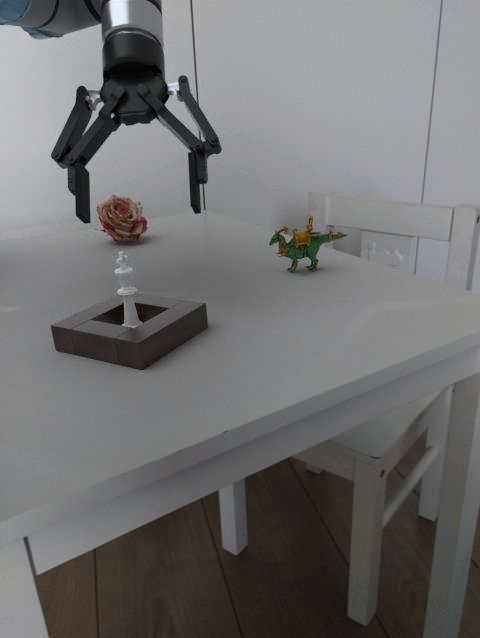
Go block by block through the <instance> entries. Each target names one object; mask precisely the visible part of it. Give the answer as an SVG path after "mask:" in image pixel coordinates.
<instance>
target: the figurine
mask: <svg viewBox="0 0 480 638" xmlns="http://www.w3.org/2000/svg"><path fill="white" fill-rule="evenodd" d="M307 222H308V223H306V224H305V229H306V230H305V231H302V232H299V233H296V232H298V228H293V229H291V233H292V235H293V236H292V238H291V239H290V240H289V241H288V242H287V241H286V238H285V236H284V235H285V234H288V231H289V229H290V227H287V225H283V227H282V228H280V229H279V230H277V229H275V230H274V234H273V235H272V236H271V239H270V241H269V244H268V246H270V247H272V246H274V245H275V244H277V243H278V249H277V251H278V252H275V254H276V255H277V257H279V258H282V257H284V258H287V259H290V260H291V264H290V265H291V266H290V267H288V268H287V269H286V270H287V271H288V272H289V273H290V274H293V273H295V272H296V269H298V266H299V260H304V259H305V258H308V259H309V260H310V265H306V266H305V267H306V269H308V271H309V272H311V273H312V272H314V271H317V270H318V268H317V266H318V264H319V261H320V260H319V259H318V258H317V255H318V252H319V251H320V247H321V246H322V245H323V244H327V243H331V242H333V241H336V240H341V239H343V238H346V237H348V235H349V234H347V233H343V232H342V231H337V233H336V234H334V233H335V231H334V230H332V229H329V230H328V233H326V232H323V233H321V232H322V230H320V231H313V230H314V227H313V222H314V216H313V215H312V214H311V215H309V216H308V221H307ZM281 233H284V235H282V234H281Z"/></svg>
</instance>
